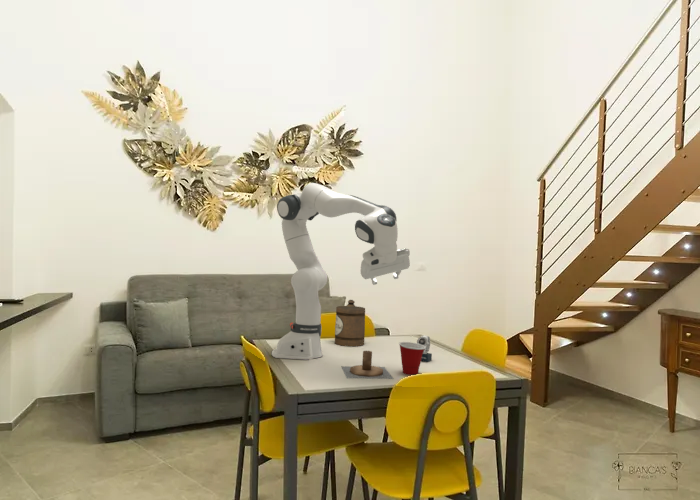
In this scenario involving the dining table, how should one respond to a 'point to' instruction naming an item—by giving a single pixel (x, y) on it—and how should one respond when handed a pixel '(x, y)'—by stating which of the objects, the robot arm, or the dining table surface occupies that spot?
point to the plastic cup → (411, 357)
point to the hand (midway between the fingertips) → (385, 280)
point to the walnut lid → (366, 367)
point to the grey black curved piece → (426, 342)
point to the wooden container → (350, 325)
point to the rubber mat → (349, 375)
